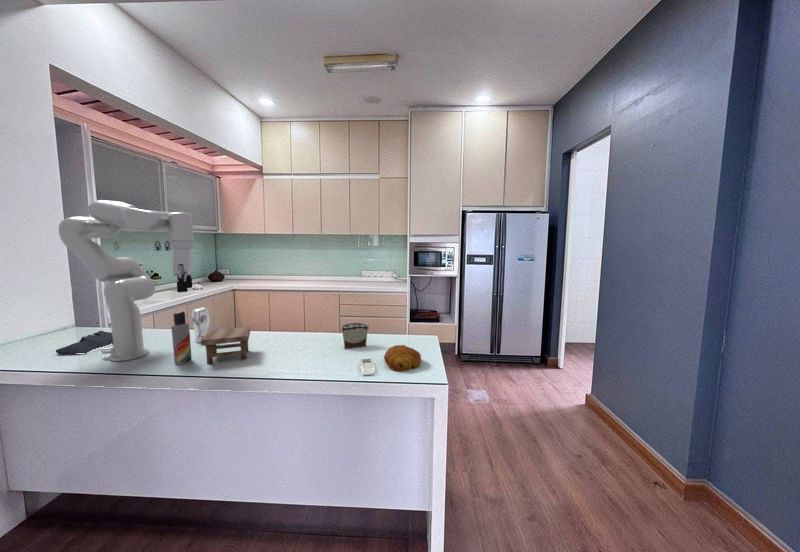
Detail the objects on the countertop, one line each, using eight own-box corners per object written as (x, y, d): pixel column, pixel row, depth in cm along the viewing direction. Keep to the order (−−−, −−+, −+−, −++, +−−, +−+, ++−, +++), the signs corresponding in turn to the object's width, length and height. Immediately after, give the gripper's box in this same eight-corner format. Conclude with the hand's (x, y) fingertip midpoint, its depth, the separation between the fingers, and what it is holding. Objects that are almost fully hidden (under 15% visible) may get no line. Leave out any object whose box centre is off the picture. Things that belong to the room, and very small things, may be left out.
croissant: (382, 376, 124) (381, 357, 122) (386, 356, 139) (385, 338, 137) (421, 377, 123) (421, 357, 121) (421, 356, 138) (421, 338, 136)
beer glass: (214, 338, 160) (212, 307, 158) (204, 343, 153) (202, 311, 151) (200, 338, 161) (198, 307, 159) (190, 342, 154) (187, 310, 152)
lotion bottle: (189, 364, 130) (185, 313, 127) (172, 365, 128) (167, 314, 125) (193, 358, 135) (189, 309, 132) (177, 360, 133) (173, 310, 131)
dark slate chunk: (47, 356, 137) (45, 345, 137) (92, 339, 159) (91, 330, 159) (87, 356, 138) (85, 345, 138) (126, 339, 160) (125, 329, 160)
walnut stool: (203, 365, 128) (201, 340, 126) (209, 353, 141) (207, 330, 139) (249, 360, 133) (247, 336, 132) (251, 349, 146) (250, 326, 145)
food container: (366, 342, 156) (365, 321, 155) (369, 346, 150) (369, 324, 149) (339, 345, 152) (338, 323, 151) (341, 349, 146) (341, 327, 145)
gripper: (175, 244, 134) (178, 286, 136) (164, 246, 118) (168, 294, 121) (197, 244, 137) (199, 285, 139) (189, 246, 121) (192, 293, 124)
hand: (185, 289), depth 130 cm, fingers open, 9 cm apart
